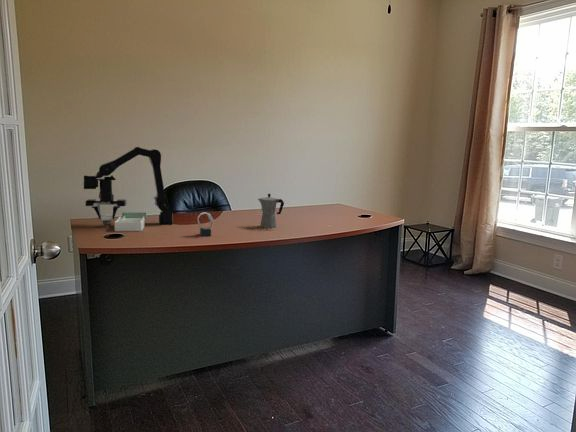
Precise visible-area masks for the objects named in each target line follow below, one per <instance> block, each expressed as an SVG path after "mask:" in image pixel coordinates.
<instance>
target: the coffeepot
mask: <svg viewBox="0 0 576 432" xmlns="http://www.w3.org/2000/svg"><path fill="white" fill-rule="evenodd" d="M257 200H258V201H259V202H260V203H259V204H260V206H261V212H262V215H261V218H260V219H261V220H260V225H259V227H261V228H263V229H275V228H277V221H276V220H277V219H276V214H277V215H281V213H282V210H283V208H284V205H285V202H284V200H283V199H282V198H274V197H271V193H268V194H267V197H260V198H258V199H257ZM278 203H280V204H279V208H278V212H276V209H277V204H278Z"/></svg>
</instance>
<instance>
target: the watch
mask: <svg viewBox="0 0 576 432" xmlns="http://www.w3.org/2000/svg"><path fill="white" fill-rule="evenodd" d="M205 214H206V217H207V218H208V220H209V222H210V225H209V226H207V227H203V225H202V224H201V222H200V217H201V216H203V215H205ZM196 222H197V224H198V226H199V227H200V228H199V235H200V236H201V237H211V236H212V230H211V228H212V227H213V225H214V222H215V220H214V218H213V216H212V215H211V213H210V212H201V213H199V214H198V216H197V220H196Z"/></svg>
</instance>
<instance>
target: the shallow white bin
mask: <svg viewBox="0 0 576 432" xmlns="http://www.w3.org/2000/svg"><path fill="white" fill-rule="evenodd" d="M121 219H122V216H119V217H118V218H117V219H116V220H115V221H114V232H142V231H143V229H144V227H145V225H146V220H145V217H143V218H142V220H141V221H140V222H120V220H121Z"/></svg>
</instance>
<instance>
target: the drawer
mask: <svg viewBox="0 0 576 432" xmlns="http://www.w3.org/2000/svg"><path fill="white" fill-rule="evenodd" d="M121 215H122V216H121V220H120V222H140V221H141V220H142V218H143V217H145V221H146V220H147V218H148V217H147V211H145V212H144V211H140V212H139V211H137V212H136V211H127V212H126V211H123V212H121Z"/></svg>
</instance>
